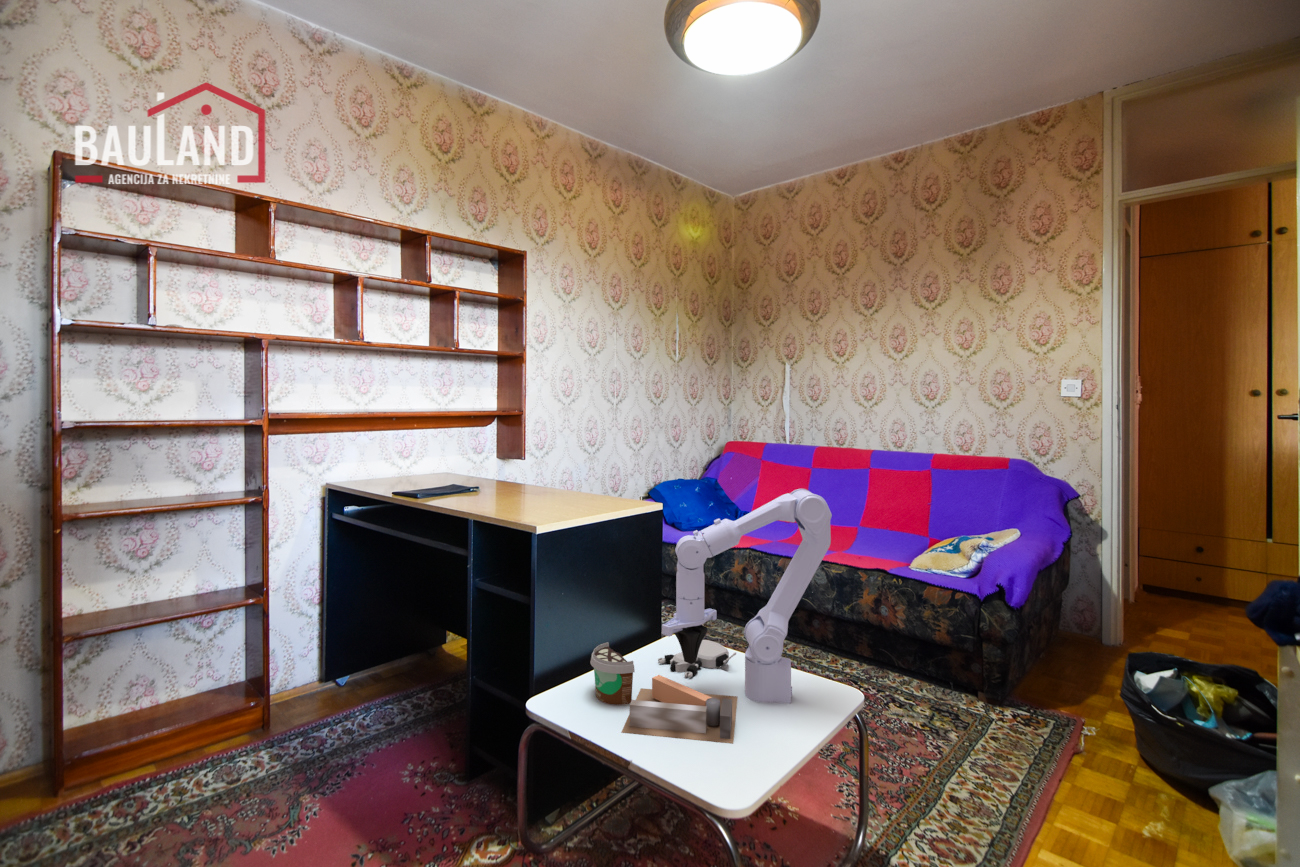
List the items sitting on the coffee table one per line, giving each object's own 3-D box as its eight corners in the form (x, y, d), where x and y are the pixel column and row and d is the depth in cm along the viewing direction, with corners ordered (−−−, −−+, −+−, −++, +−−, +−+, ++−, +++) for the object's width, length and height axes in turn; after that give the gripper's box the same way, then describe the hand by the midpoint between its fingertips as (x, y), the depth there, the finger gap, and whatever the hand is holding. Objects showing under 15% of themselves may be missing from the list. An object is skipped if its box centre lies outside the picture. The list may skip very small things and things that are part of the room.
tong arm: (722, 722, 113) (723, 701, 113) (713, 727, 111) (714, 706, 111) (660, 693, 125) (660, 674, 125) (651, 697, 123) (651, 678, 123)
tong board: (737, 702, 124) (737, 677, 124) (733, 750, 107) (733, 720, 107) (640, 693, 128) (640, 669, 128) (621, 739, 110) (621, 710, 110)
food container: (581, 694, 128) (580, 646, 128) (607, 687, 131) (607, 641, 131) (606, 719, 117) (606, 668, 117) (634, 712, 120) (634, 661, 120)
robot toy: (689, 690, 132) (739, 668, 141) (688, 670, 131) (738, 649, 140) (654, 671, 142) (703, 651, 151) (653, 652, 141) (702, 633, 150)
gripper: (698, 584, 133) (698, 646, 133) (651, 599, 122) (650, 666, 123) (724, 591, 128) (724, 656, 128) (676, 607, 117) (676, 677, 118)
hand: (689, 661), depth 125 cm, fingers closed
